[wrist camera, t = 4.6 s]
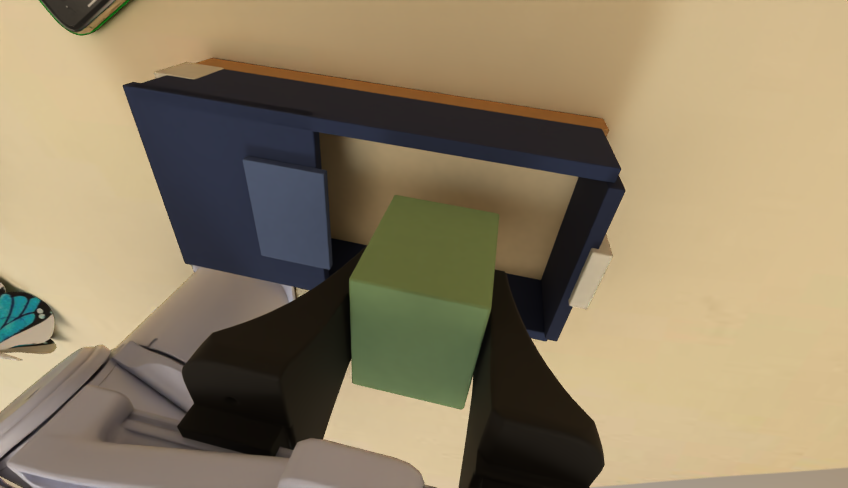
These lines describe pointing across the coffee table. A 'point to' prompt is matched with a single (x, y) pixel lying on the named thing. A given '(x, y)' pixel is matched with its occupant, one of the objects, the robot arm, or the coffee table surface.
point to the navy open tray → (373, 176)
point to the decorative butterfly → (24, 324)
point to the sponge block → (423, 300)
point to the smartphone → (82, 13)
